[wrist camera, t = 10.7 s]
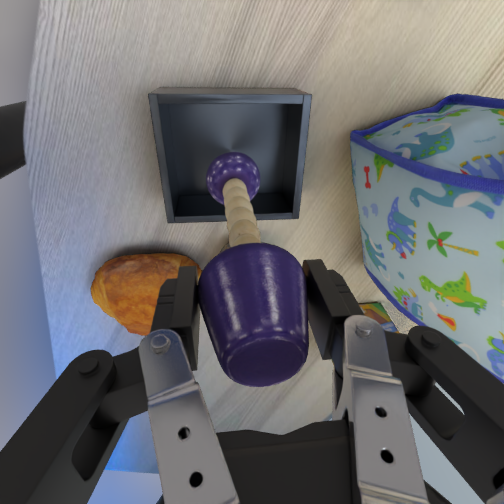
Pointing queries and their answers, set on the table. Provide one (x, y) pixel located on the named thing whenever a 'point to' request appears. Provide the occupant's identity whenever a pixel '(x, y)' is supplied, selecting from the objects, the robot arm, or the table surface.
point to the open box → (230, 146)
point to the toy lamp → (252, 287)
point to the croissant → (135, 287)
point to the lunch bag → (438, 219)
